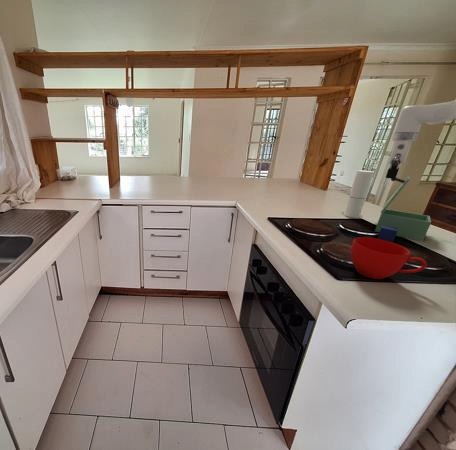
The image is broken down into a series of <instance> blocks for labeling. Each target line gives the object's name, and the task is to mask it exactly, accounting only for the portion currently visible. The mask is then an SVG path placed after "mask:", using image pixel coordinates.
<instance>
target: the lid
mask: <svg viewBox="0 0 456 450" xmlns="http://www.w3.org/2000/svg"><path fill="white" fill-rule="evenodd" d="M410 180H411V176H406V178H405V179H402V178H398V177H397V176H396V178H395V179H392V178H390V181H391V182H399V183H401V184H399V186H398V187H397V189H396V190H395V191H394V193H393V194H392V195H391V196H390V198H389V199H388V200H387V201H386V203H384V205H383V206H382V208H381V210H380V213H383V212H384V211H385V210H386V209H388V207H389V206H390V205H391V204H392V202H393V201H394V200H395V198H396V197H397V196H398V195H399V194H400V193H401V191H402V190H403V189H404V188H405V187H406V185H407V184H408V183H409V181H410Z"/></svg>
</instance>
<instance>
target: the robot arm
mask: <svg viewBox="0 0 456 450" xmlns="http://www.w3.org/2000/svg"><path fill="white" fill-rule="evenodd" d="M453 120H456V99H454V100H451V101H447V102H439V103H433V104H414V105H413V104H412V105H406V106H404V107H403V108H402V109H401V110H400V113H399V117H398V120H397V122H396V126H395V128H394V131H393V135H392V138H391V141H392V142H394V144H393V147H392V150H391V152H390V156H389V162H388V163H389V164H390V165H389V168H388V169H387V172H386V175H385V178H386V179H391V178H392V179H395V178H396V177H397V175H398V173H399V170H400V165H405V164H406V161H407V158H408V156H409V154H410V153H409V152H410V150H411V147H412V143H413V142H416V141H417V139H418V137H419V133H420V130H421V128H422V126H423V124H426V125H432V126H433V125H438V124H443V123H446V122H449V121H453Z"/></svg>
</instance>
